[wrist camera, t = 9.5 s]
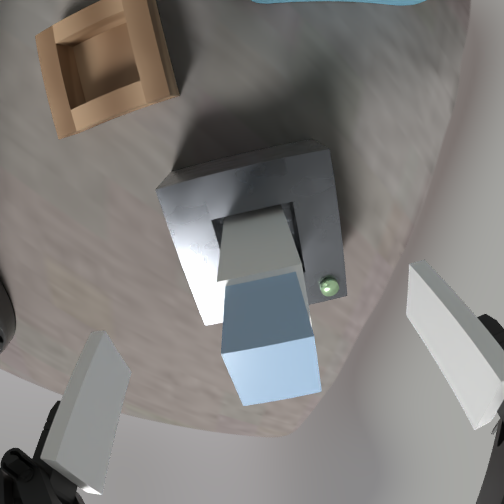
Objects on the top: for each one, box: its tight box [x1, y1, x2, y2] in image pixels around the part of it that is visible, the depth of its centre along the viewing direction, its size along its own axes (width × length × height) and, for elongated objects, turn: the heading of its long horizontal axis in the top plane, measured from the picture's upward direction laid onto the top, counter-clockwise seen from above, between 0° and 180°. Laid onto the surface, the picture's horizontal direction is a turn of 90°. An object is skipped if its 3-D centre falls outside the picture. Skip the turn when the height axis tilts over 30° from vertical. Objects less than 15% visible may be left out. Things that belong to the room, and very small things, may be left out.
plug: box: [217, 204, 321, 406], centre depth 16 cm, size 4×4×13 cm
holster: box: [35, 0, 180, 139], centre depth 16 cm, size 8×8×3 cm
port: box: [156, 139, 347, 325], centre depth 21 cm, size 10×10×5 cm
